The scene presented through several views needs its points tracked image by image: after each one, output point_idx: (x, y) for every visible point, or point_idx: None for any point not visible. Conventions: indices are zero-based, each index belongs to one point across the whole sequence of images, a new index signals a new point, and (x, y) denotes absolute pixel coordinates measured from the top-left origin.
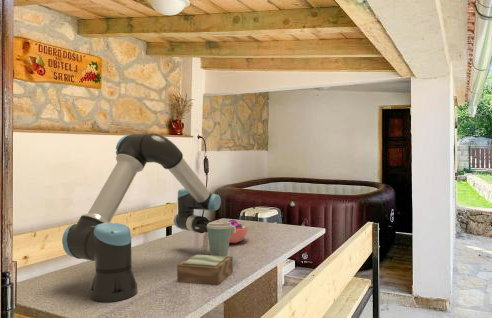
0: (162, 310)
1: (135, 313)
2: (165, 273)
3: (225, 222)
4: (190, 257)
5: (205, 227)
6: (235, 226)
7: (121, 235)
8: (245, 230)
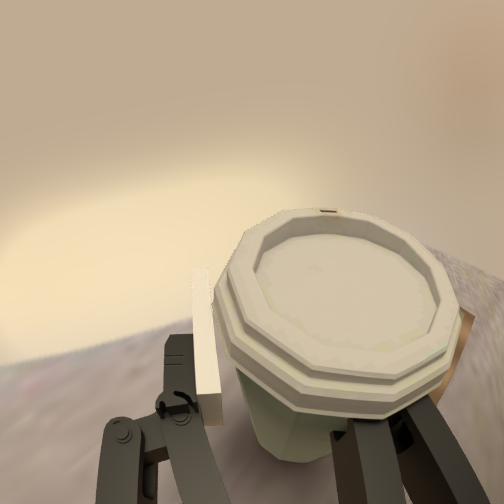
0: (449, 259)
1: (478, 268)
2: (485, 427)
3: (261, 291)
4: (449, 374)
5: (448, 443)
6: None
7: None
8: None
